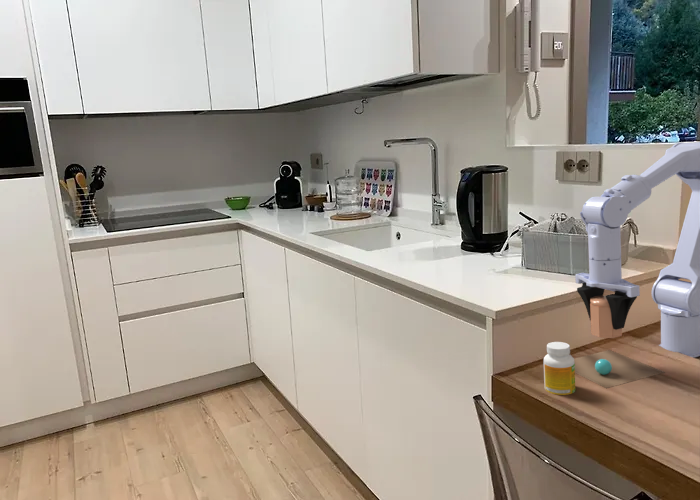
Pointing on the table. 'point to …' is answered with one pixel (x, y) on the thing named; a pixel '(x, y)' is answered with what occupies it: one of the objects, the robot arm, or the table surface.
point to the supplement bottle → (559, 369)
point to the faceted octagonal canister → (602, 318)
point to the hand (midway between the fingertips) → (606, 324)
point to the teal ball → (603, 366)
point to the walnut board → (613, 369)
